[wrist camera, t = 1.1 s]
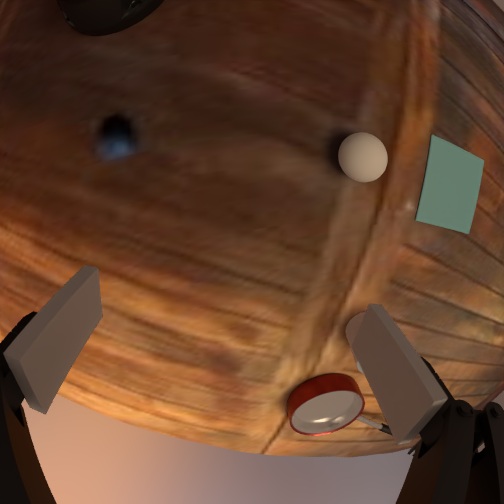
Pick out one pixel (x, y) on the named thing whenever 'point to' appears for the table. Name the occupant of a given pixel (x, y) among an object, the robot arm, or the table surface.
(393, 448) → the table surface
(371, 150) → the ball
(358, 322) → the white cylinder
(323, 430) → the frying pan
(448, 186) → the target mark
